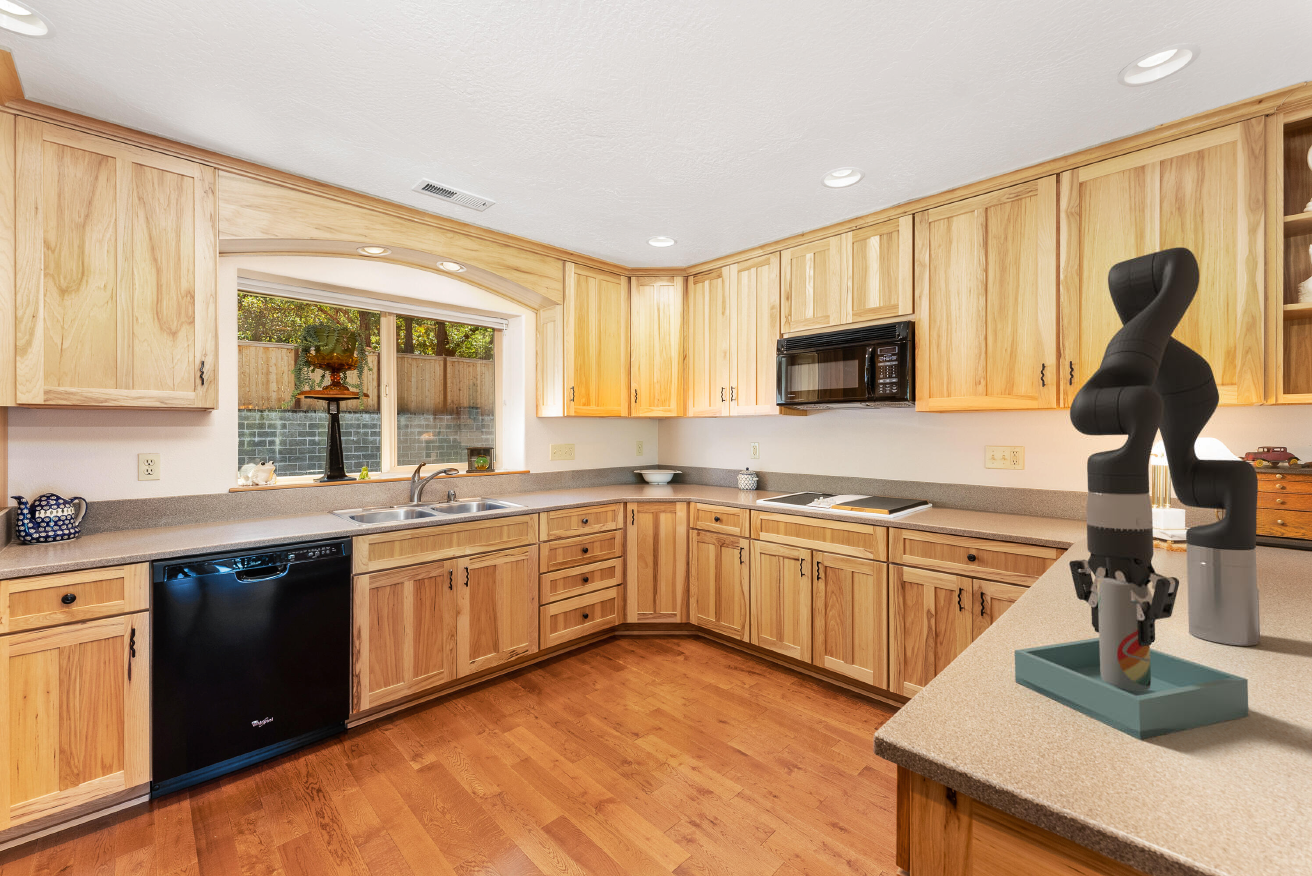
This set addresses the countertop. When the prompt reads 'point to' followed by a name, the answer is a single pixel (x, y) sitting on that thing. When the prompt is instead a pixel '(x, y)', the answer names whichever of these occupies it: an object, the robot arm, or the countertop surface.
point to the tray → (1166, 707)
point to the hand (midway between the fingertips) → (1122, 637)
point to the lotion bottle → (1121, 631)
